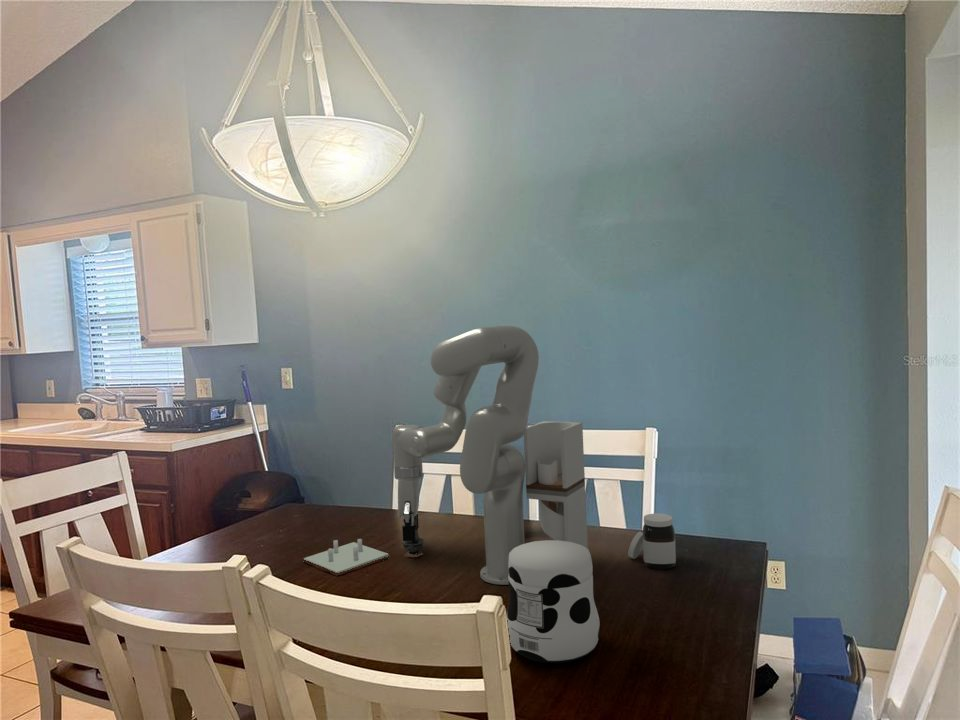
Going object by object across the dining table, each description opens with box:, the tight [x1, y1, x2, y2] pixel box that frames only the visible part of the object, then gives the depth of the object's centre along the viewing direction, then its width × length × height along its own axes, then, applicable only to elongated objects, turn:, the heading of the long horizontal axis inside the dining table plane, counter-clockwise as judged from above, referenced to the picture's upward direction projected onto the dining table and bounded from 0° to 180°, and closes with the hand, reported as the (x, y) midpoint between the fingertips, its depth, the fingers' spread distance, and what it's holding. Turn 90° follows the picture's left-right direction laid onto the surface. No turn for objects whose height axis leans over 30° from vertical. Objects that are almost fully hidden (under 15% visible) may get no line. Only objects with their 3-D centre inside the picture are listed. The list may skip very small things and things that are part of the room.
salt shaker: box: [401, 513, 425, 555], centre depth 180 cm, size 6×6×12 cm
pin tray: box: [303, 538, 390, 573], centre depth 178 cm, size 16×16×4 cm
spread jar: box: [627, 513, 677, 570], centre depth 165 cm, size 12×11×12 cm
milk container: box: [506, 539, 601, 664], centre depth 125 cm, size 17×17×18 cm
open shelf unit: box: [523, 420, 589, 550], centre depth 166 cm, size 11×11×35 cm
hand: (410, 534), depth 180 cm, fingers open, 9 cm apart
